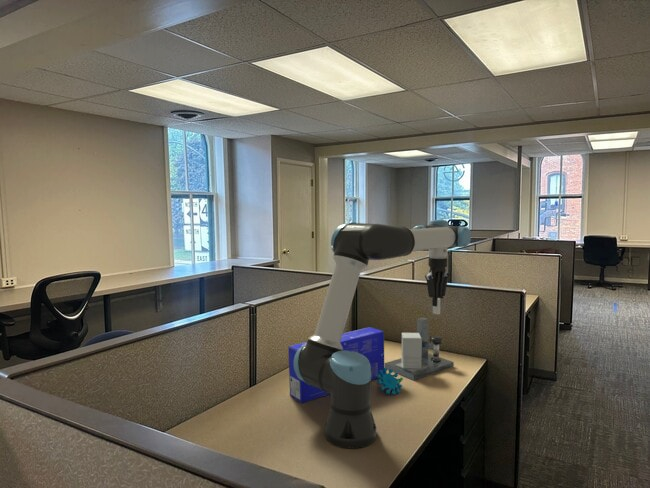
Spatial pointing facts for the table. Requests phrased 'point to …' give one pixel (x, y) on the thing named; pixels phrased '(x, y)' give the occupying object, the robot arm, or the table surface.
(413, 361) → the supplement box
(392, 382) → the gear
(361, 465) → the table surface
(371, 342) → the toner cartridge box
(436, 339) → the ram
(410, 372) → the plate
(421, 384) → the table surface
